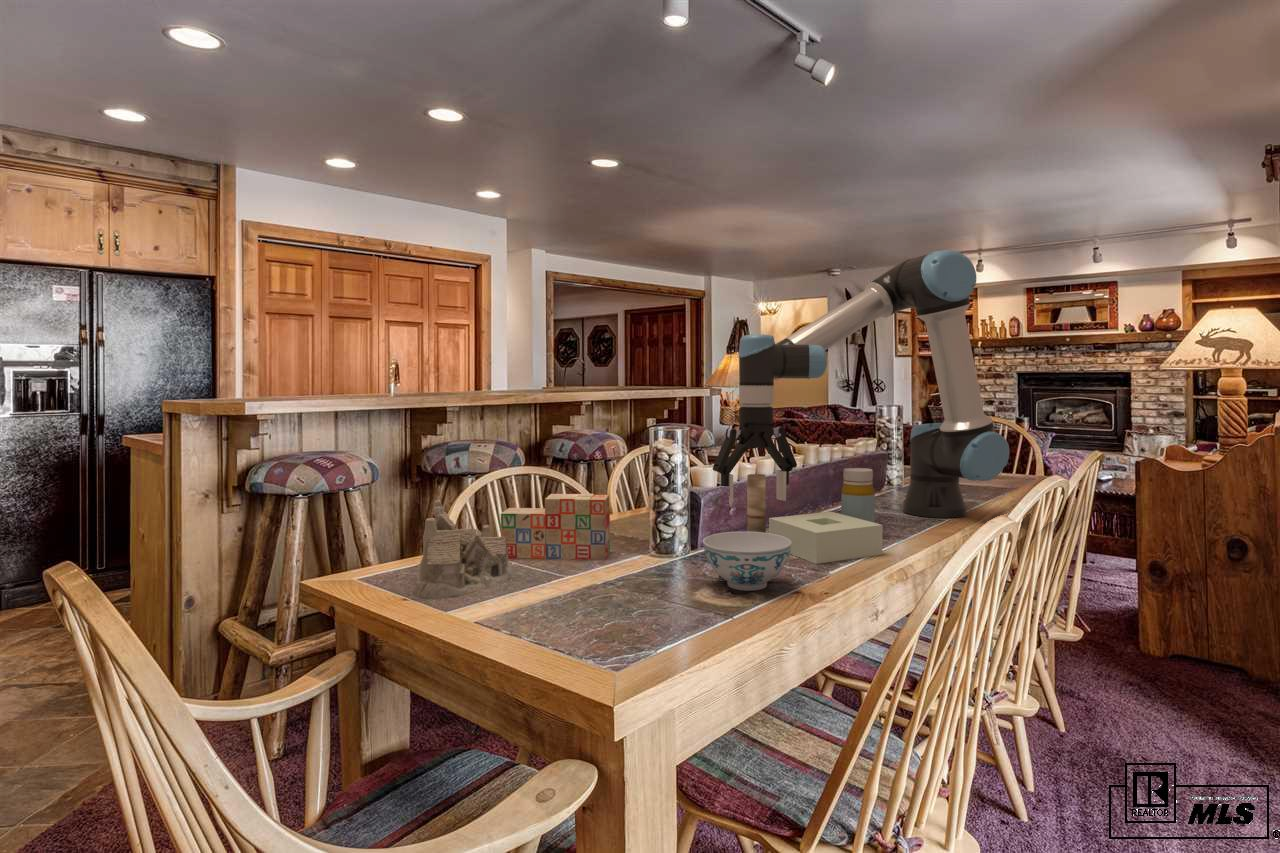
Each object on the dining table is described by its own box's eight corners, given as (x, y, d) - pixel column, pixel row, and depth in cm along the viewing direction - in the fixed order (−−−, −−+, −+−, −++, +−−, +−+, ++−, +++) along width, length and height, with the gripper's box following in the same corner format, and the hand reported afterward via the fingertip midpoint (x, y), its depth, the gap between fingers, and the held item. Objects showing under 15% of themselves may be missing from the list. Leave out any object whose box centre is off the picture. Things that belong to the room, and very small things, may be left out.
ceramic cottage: (402, 598, 119) (406, 507, 118) (431, 574, 135) (435, 495, 135) (497, 602, 119) (501, 512, 118) (514, 578, 135) (518, 499, 135)
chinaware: (803, 579, 126) (803, 536, 126) (773, 603, 113) (773, 555, 113) (724, 569, 134) (724, 528, 133) (688, 590, 121) (687, 545, 120)
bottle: (834, 535, 160) (834, 468, 159) (858, 532, 163) (859, 466, 162) (856, 542, 154) (856, 472, 153) (881, 538, 157) (881, 470, 156)
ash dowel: (759, 535, 162) (759, 473, 161) (769, 538, 158) (769, 475, 157) (743, 536, 160) (743, 474, 159) (753, 540, 157) (753, 476, 156)
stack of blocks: (501, 559, 144) (499, 498, 144) (509, 551, 151) (508, 493, 150) (606, 560, 142) (605, 498, 141) (610, 552, 149) (609, 493, 148)
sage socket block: (830, 538, 158) (831, 511, 157) (882, 554, 143) (882, 524, 142) (769, 546, 151) (769, 518, 151) (816, 563, 137) (816, 532, 136)
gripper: (793, 404, 166) (792, 495, 167) (697, 406, 156) (697, 503, 157) (813, 405, 159) (812, 500, 160) (714, 407, 149) (714, 508, 150)
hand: (755, 502), depth 159 cm, fingers open, 13 cm apart
